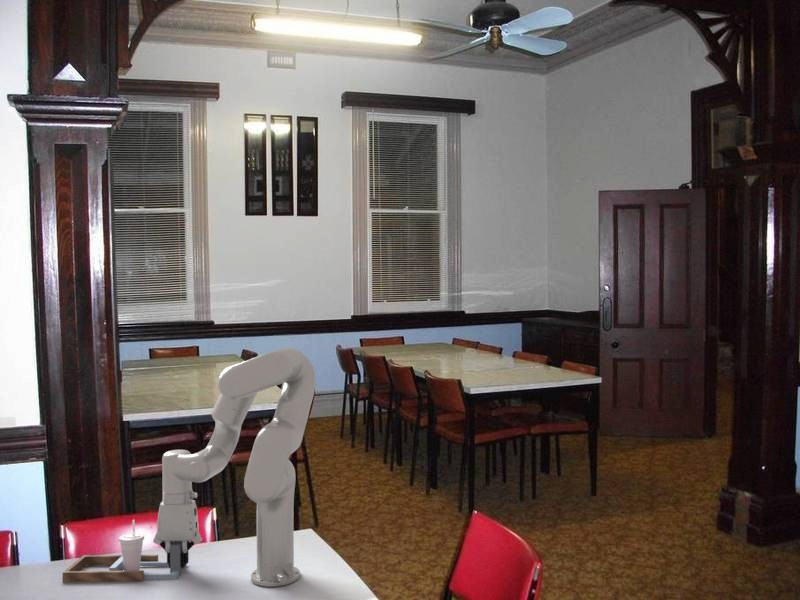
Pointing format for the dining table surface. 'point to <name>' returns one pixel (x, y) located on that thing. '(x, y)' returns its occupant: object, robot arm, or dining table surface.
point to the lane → (103, 576)
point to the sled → (159, 564)
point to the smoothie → (131, 549)
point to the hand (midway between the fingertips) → (177, 565)
